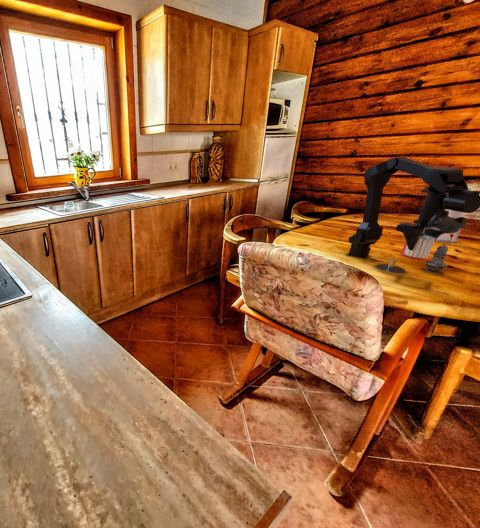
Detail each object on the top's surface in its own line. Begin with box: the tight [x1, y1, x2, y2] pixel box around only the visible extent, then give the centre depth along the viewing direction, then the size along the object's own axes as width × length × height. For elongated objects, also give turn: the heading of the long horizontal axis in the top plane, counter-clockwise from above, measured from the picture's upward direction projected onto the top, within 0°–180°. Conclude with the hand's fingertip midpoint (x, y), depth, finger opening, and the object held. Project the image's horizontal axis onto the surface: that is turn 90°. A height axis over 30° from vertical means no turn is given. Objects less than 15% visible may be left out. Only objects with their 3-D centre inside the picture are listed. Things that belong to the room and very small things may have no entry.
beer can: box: [400, 229, 425, 260], centre depth 122 cm, size 7×7×12 cm
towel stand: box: [376, 258, 406, 274], centre depth 113 cm, size 9×9×4 cm
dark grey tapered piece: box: [424, 243, 449, 274], centre depth 108 cm, size 6×6×12 cm
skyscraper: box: [435, 185, 473, 244], centre depth 135 cm, size 8×8×28 cm
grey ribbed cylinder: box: [404, 235, 436, 259], centre depth 101 cm, size 6×6×7 cm
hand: (418, 249), depth 102 cm, fingers closed on grey ribbed cylinder, 6 cm apart
